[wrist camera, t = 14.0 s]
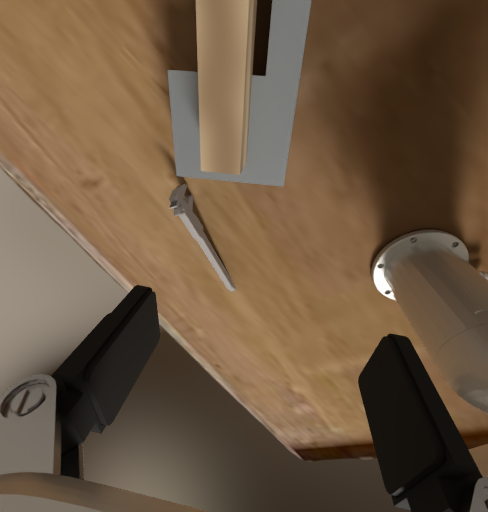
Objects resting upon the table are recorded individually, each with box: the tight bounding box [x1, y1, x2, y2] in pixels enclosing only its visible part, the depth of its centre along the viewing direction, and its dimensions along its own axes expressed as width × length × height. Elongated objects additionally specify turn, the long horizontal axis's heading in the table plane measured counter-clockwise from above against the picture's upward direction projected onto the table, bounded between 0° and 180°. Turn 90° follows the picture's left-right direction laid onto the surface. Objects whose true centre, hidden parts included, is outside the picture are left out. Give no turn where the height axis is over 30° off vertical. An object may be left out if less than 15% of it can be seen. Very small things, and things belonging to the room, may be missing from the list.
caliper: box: [169, 183, 236, 292], centre depth 37 cm, size 20×1×6 cm, turn 20°
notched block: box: [167, 0, 311, 187], centre depth 22 cm, size 12×28×7 cm, turn 177°
